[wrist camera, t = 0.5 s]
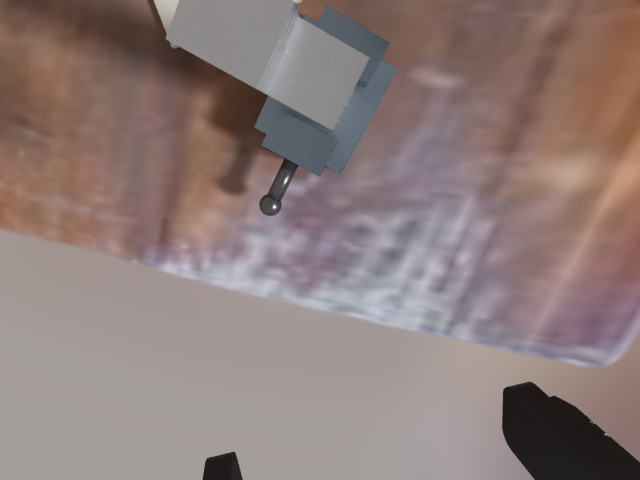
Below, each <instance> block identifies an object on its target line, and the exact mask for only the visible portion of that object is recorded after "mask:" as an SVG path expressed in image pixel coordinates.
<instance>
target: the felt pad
mask: <svg viewBox="0 0 640 480" xmlns="http://www.w3.org/2000/svg"><path fill="white" fill-rule="evenodd" d="M293 1H294V2H295V4H297V3H300V2H302V0H293ZM154 2H155V5H156V8H157V10H158V13H159V15H160V18H161V21H162V23H163V26H164V28H165V31H166V34H167V33H168V30H169V28H170V25H171V22H172V19H173V16H174V14H175V11H176V8H177V5H178V2H179V0H154ZM169 42H170V41H169ZM170 44H171V47H172V48H174V49H176V48H178V47H179V46H177V45H175V44H174V43H172V42H170Z"/></svg>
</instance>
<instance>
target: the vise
mask: <svg viewBox="0 0 640 480" xmlns="http://www.w3.org/2000/svg"><path fill="white" fill-rule="evenodd" d="M303 19H304V20H305V21H307V22H309V23H311V24H312V25H314V26H316V27H318V28H319V29H321V30H323V31H324V32H326V33H328V34H330V35H331V36H333V37H335V38H337V39H338V40H340V41H342V42H343V43H345V44H347V45H349V46H350V47H352V48H354V49H356V50H357V51H359V52H361V53H362V54H364V55H366V56H368V57H369V60H368V62H367V64H366V66H365V68H364V70H363V72H362V74H361V76H360V78H359V80H358V82H357V84H356V86H355V88H354V90H353V92H352V94H351V96H350V98H349V100H348V102H347V104H346V106H345V108H344V110H343V112H342V113H341V115H340V117H339V119H338V121H337V123H336V125H335V127H334V129H333V131H332V130H330V129H329V128H327V127H325V126H323V125H321V124H319V123H318V122H316V121H314V120H312V119H310V118H309V117H307V116H305V115H303V114H301V113H299V112H298V111H296V110H294V109H292V108H290V107H289V106H287V105H285V104H283V103H281V102H279V101H278V100H276V99H274V98H272V97H270V96H268V97H267V99H266V102H265V104H264V106H263V108H262V111H261V113H260V115H259V117H258V119H257V122H256V124H255V126H254V128H256V129H258V130H260V131H262V132H264V133H265V134H266V136H265V138H264V141H263V143H262V145H261V146H263V147H265V148H267V149H269V150H271V151H273V152H275V153H277V154H278V155H280V156H282V157H284V158H285V159H284V161H283V163H282V165H281V167H280V169H279V171H278V174H277V176H276V178H275V180H274V182H273V184H272V186H271V188H270V190H269V192H268V194H267V195H265V196H263V197H262V198H261V200H260V203H259V206H260V210H261V211H262V212H263V213H264V214H265V215H267V216H274V215H276V214H277V213H279V211H280V210H281V199H282V197H283V195H284V193H285V191H286V189H287V187H288V185H289V183H290V181H291V179H292V177H293V175H294V173H295V171H296V169H297V167H298V165H299V166H301V167H303V168H305V169H307V170H308V171H310V172H312V173H314V174H316V175H318V176H321V174H322V172H323V170H324V168H325V166H327V167H329V168H331V169H332V170H334V171H336V172H338V173H340V174H341V173H342V171H343V170H344V168H345V166H346V164H347V162H348V160H349V158H350V156H351V155H352V153H353V151H354V149H355V147H356V145H357V143H358V142H359V140H360V138H361V136H362V134H363V132H364V130H365V129H366V127H367V125H368V123H369V121H370V119H371V117H372V116H373V114H374V112H375V110H376V108H377V106H378V104H379V103H380V101H381V99H382V97H383V95H384V93H385V91H386V90H387V88H388V86H389V84H390V82H391V80H392V78H393V76H394V75H395V73H396V71H397V69H396V68H394V67H393V66H391V65H389V64H388V63H386V62H384V61H382V60H381V59H382V57H383V55H384V53H385V51H386V49H387V48H388V46H389V44H390V43H389V42H388V41H386V40H384V39H383V38H381V37H379V36H377V35H376V34H374V33H372V32H371V31H369V30H367V29H366V28H364V27H362V26H360V25H359V24H357V23H355V22H354V21H352V20H350V19H348V18H347V17H345V16H343V15H342V14H340V13H338V12H337V11H335V10H333V9H331V8H330V7H328V6H326V7H325V9H324V11H323V13H322V15H321V17H320V19H319V22H318V23H317V22H315V21H314V20H312V19H310V18H308V17H307V16H305V15H304V17H303Z"/></svg>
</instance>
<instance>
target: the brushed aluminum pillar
mask: <svg viewBox="0 0 640 480" xmlns="http://www.w3.org/2000/svg"><path fill="white" fill-rule="evenodd" d="M166 40H168V41H170V42H172V43H174V44H175V45H177V46H179V47H181V48H183V49H184V50H186V51H188V52H190V53H192V54H194V55H195V56H197V57H199V58H201V59H203V60H205V61H206V62H208V63H210V64H212V65H214V66H215V67H217V68H219V69H221V70H223V71H225V72H226V73H228V74H230V75H232V76H234V77H235V78H237V79H239V80H241V81H243V82H245V83H246V84H248V85H250V86H252V87H254V88H255V89H257V90H259V91H261V92H263V93H265V94H267V95H268V96H270V97H272V98H274V99H276V100H278V101H279V102H281V103H283V104H285V105H287V106H289V107H290V108H292V109H294V110H296V111H298V112H299V113H301V114H303V115H305V116H307V117H309V118H310V119H312V120H314V121H316V122H318V123H319V124H321V125H323V126H325V127H327V128H329V129H330V130H332V131H333V129H334V127H335V125H336V123H337V121H338V119H339V117H340V115H341V113H342V112H343V110H344V108H345V106H346V104H347V102H348V100H349V98H350V96H351V94H352V92H353V90H354V88H355V86H356V84H357V82H358V80H359V78H360V76H361V74H362V72H363V70H364V68H365V66H366V64H367V62H368V60H369V57H368V56H366V55H364V54H362V53H361V52H359V51H357V50H356V49H354V48H352V47H350V46H349V45H347V44H345V43H343V42H342V41H340V40H338V39H337V38H335V37H333V36H331V35H330V34H328V33H326V32H324V31H323V30H321V29H319V28H318V27H316V26H314V25H312V24H311V23H309V22H307V21H305V20H304V19H302V18H300V17H299V14H298V10H297V7H296V4H295V2H294V1H293V0H179V2H178V5H177V8H176V11H175V14H174V16H173V19H172V22H171V25H170V28H169V30H168V33H167V36H166Z"/></svg>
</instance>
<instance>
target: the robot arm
mask: <svg viewBox="0 0 640 480" xmlns="http://www.w3.org/2000/svg"><path fill="white" fill-rule="evenodd" d="M502 428H503V434H504V437H505V439H506V442H507V444H508V446H509V447H510V449H511V450H512V452H513V453H514V454H515V455H516V457H517V458H518V459H519V460H520V462H521V463H522V464H523V465H524V467H525V468H526V469H527V470H528V472H529V473H530V474H531V476H532V477H533V478H534V479H535V480H640V462H639V461H638V460H636V459H635V458H634V457H633V456H632V455H630V454H629V453H628V452H627V451H626V450H625V449H624V448H623V447H621V446H620V445H619V444H618V443H617V442H616V441H614V440H613V439H612V438H611V437H608V436H607V435H606V433H605V432H604V431H603V430H602V429H601V428H599V427H598V426H597V425H596V424H593V423H592V421H591V420H590V419H589V418H588V417H587V416H586V415H584V414H583V413H582V412H581V411H580V410H578V408H576V407H575V406H573V405H571V404H569V403H567V402H566V401H564V400H562V399H560V398H558V397H556V396H552V397H548V396H547V395H546V394H545V393H544V392H543V391H542V390H541V389H540V388H539V387H537V386H536V385H535V384H534V383H532V382H526V383H522V384H518V385H514V386H509V387H506V388H505V389H504V390H503V417H502ZM203 480H243V479H242V476H241V472H240V468H239V464H238V460H237V457H236V453H235V452H231V453H227V454H222V455H219V456H215V457H210V458H207V459H206V462H205V468H204V475H203Z"/></svg>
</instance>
